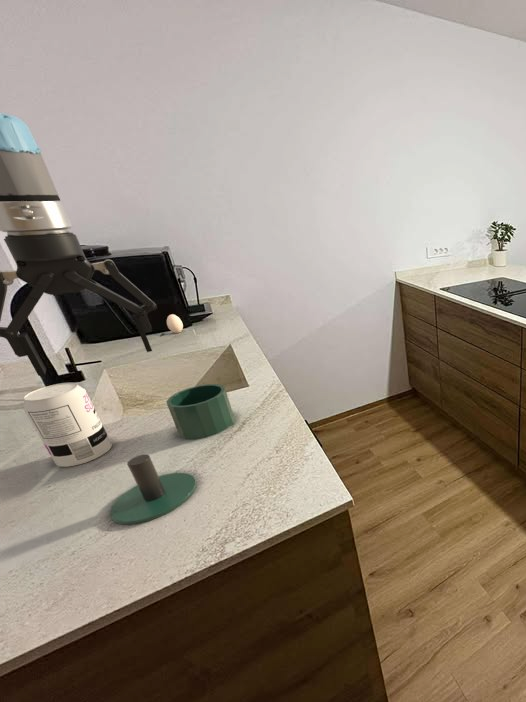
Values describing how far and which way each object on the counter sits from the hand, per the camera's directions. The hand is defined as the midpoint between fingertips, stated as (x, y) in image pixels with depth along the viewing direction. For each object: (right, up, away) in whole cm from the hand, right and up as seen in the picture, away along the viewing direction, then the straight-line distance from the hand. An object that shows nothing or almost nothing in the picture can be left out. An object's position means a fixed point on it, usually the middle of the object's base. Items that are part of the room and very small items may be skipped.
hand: (99, 360), depth 65 cm
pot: (+5, -15, +20) cm, 25 cm away
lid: (+11, -24, -1) cm, 26 cm away
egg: (-52, +11, +81) cm, 97 cm away
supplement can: (-13, -20, +11) cm, 26 cm away
